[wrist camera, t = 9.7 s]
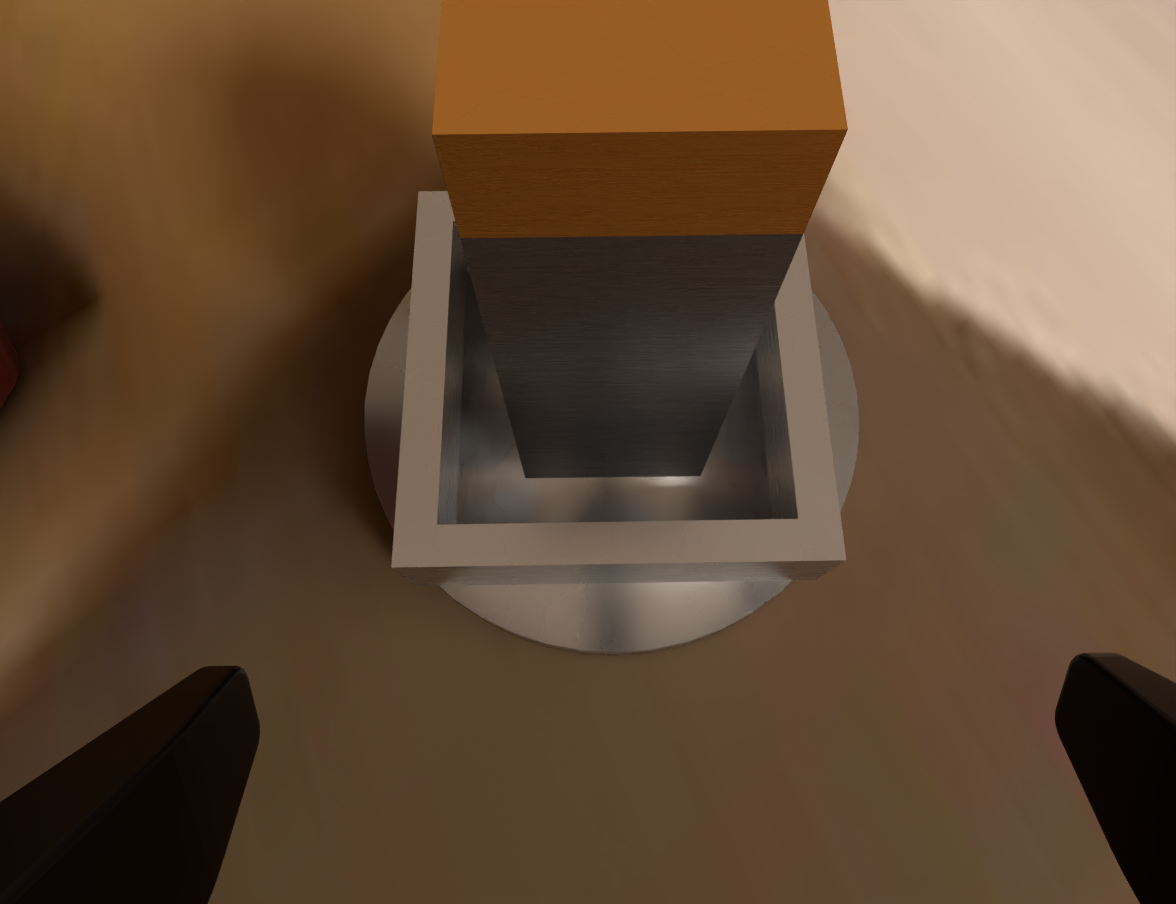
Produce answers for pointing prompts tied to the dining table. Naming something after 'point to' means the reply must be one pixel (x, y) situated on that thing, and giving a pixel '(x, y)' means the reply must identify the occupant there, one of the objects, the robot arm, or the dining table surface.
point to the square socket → (603, 478)
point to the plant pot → (7, 365)
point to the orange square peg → (630, 207)
